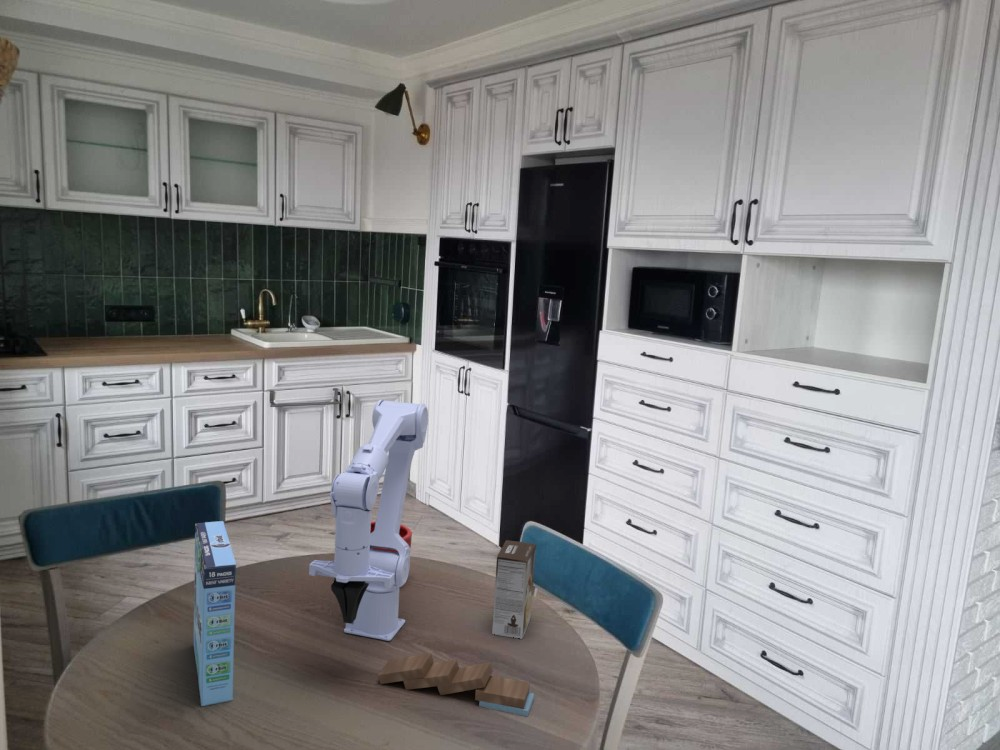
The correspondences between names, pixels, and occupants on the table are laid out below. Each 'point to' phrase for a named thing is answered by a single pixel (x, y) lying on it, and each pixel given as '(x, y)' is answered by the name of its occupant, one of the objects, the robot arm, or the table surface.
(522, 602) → the coffee box
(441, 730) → the table surface
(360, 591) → the robot arm
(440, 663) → the walnut domino
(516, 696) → the walnut domino
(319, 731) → the table surface
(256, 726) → the table surface
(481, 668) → the walnut domino
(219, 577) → the light blue carton box
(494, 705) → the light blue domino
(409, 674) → the walnut domino
